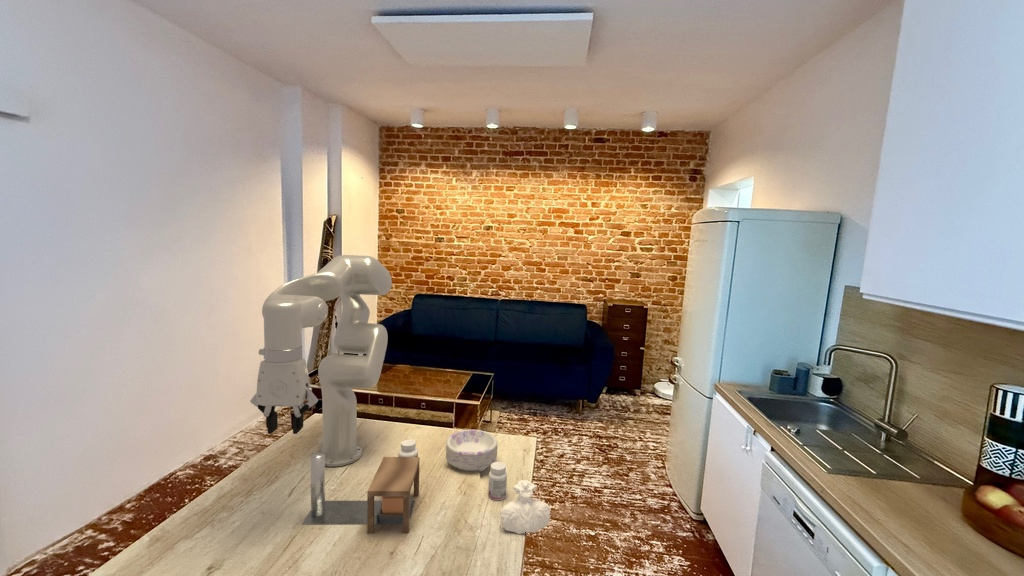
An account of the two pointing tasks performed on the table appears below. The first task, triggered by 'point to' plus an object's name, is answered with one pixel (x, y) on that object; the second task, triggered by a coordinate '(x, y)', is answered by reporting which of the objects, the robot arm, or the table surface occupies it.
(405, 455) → the supplement bottle
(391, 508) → the block
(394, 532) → the table surface
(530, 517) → the white lumpy bag
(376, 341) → the robot arm
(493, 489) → the pill bottle
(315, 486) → the metal rod stand
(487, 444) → the paper bowls
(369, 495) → the wooden table
